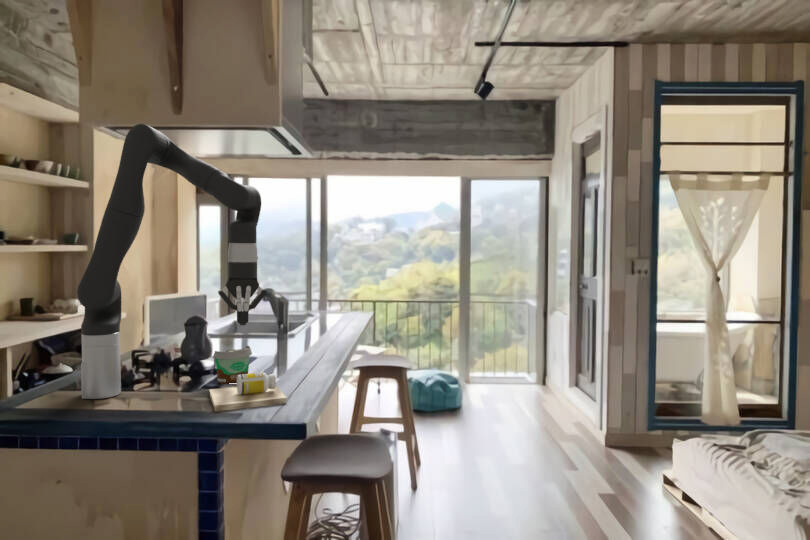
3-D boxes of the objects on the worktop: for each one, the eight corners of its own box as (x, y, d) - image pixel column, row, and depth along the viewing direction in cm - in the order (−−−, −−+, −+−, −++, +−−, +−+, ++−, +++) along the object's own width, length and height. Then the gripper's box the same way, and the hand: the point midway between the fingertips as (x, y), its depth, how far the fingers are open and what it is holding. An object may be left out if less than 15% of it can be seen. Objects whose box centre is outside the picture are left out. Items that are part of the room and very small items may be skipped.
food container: (226, 388, 162) (225, 354, 161) (213, 384, 166) (213, 351, 165) (260, 379, 172) (260, 347, 171) (247, 376, 175) (247, 345, 175)
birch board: (215, 411, 140) (215, 405, 140) (209, 394, 155) (209, 389, 155) (286, 403, 148) (286, 397, 148) (274, 388, 162) (274, 383, 162)
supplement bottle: (237, 398, 150) (274, 394, 154) (239, 389, 146) (277, 385, 150) (235, 380, 153) (272, 376, 157) (237, 371, 149) (274, 367, 153)
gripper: (265, 259, 155) (265, 321, 156) (215, 259, 149) (215, 324, 150) (270, 261, 148) (270, 326, 149) (218, 260, 142) (217, 328, 143)
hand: (242, 324), depth 150 cm, fingers closed
